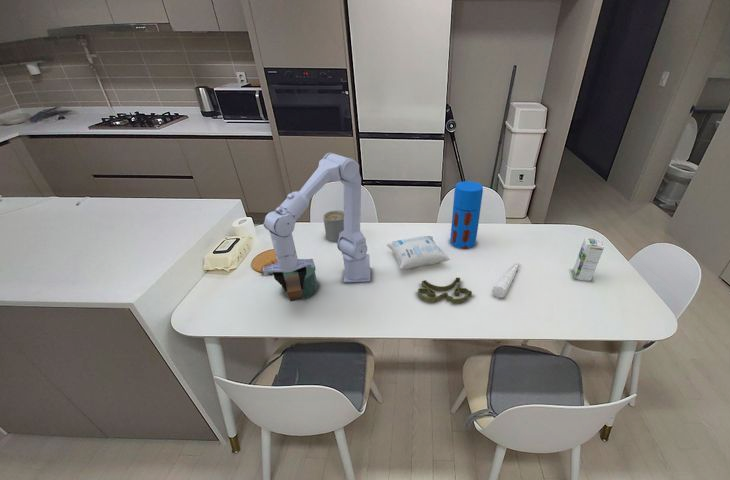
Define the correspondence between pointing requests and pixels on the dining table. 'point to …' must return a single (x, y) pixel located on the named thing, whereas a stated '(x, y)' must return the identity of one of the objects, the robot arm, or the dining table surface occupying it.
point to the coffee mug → (333, 224)
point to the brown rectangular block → (293, 287)
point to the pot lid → (309, 272)
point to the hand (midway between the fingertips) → (294, 288)
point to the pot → (307, 286)
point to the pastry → (269, 264)
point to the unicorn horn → (504, 283)
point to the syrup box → (588, 259)
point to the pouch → (417, 252)
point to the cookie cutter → (431, 293)
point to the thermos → (466, 214)
